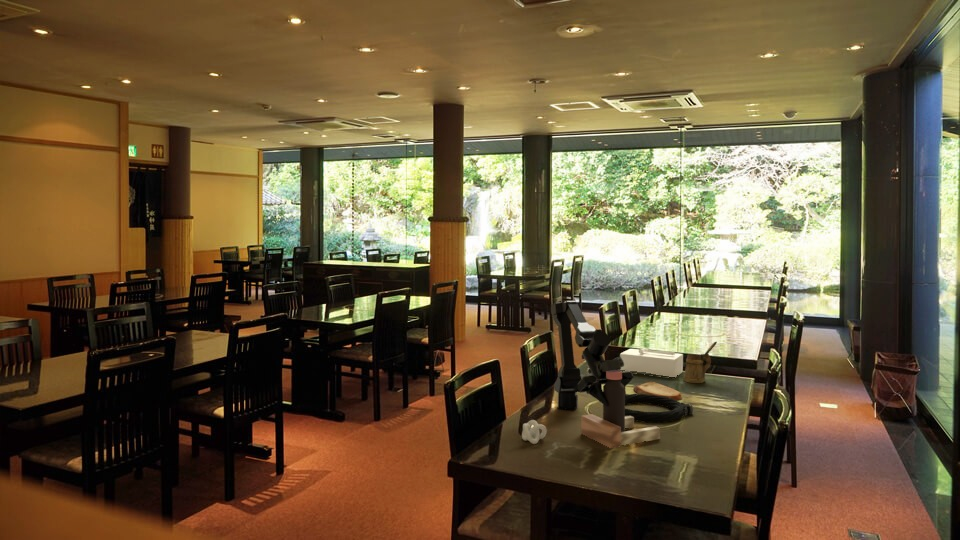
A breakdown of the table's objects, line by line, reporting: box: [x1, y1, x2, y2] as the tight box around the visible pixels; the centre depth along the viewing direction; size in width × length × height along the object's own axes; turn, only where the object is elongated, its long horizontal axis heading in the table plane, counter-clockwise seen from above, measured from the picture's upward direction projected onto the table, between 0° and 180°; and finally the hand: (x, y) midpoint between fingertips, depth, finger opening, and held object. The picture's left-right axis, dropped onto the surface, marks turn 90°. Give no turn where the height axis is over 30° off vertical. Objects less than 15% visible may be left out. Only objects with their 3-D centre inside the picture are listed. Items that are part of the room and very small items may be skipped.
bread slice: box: [633, 381, 683, 401], centre depth 253 cm, size 18×18×4 cm
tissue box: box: [619, 347, 684, 378], centre depth 292 cm, size 14×25×11 cm, turn 58°
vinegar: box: [602, 369, 626, 432], centre depth 199 cm, size 7×7×20 cm
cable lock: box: [625, 393, 694, 423], centre depth 228 cm, size 28×4×30 cm
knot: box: [521, 419, 547, 445], centre depth 196 cm, size 8×8×6 cm
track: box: [580, 413, 661, 449], centre depth 200 cm, size 20×15×6 cm
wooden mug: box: [682, 341, 718, 384], centre depth 272 cm, size 9×14×18 cm, turn 68°
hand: (616, 404), depth 198 cm, fingers closed on vinegar, 7 cm apart
